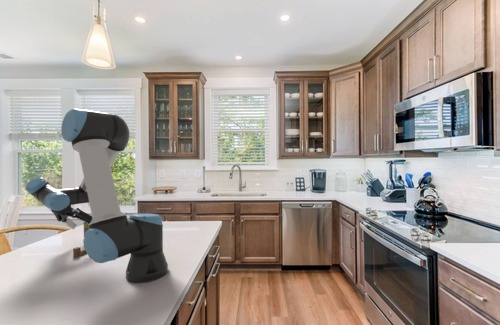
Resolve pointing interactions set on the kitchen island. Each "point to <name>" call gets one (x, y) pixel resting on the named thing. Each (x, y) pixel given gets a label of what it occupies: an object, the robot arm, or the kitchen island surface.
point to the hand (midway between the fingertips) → (85, 227)
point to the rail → (78, 252)
